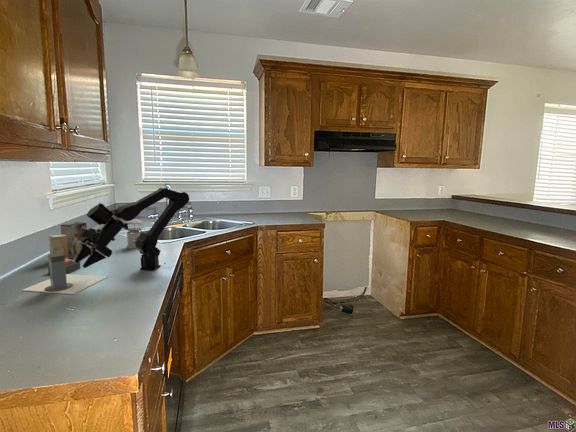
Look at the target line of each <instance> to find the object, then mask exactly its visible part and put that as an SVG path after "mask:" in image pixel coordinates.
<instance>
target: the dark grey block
mask: <svg viewBox="0 0 576 432" xmlns="http://www.w3.org/2000/svg"><path fill="white" fill-rule="evenodd" d="M47 257H48V266H49V269H50V273H49V279H50V280H51V287H52V288H53V289H54V290H56V289H61V288H65V287H67V280H66V268H65V256H64V255H63V254H62V253H59V254H53V255H50V254H48V255H47Z"/></svg>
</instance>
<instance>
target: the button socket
mask: <svg viewBox="0 0 576 432" xmlns="http://www.w3.org/2000/svg"><path fill="white" fill-rule="evenodd" d="M72 261H73V263H72V264H69V265H66V266H65V268H66V274H70V273H72V272H75V271H77V270H80V269H81V261H80V262H78V263H76V262H75V260H72ZM47 271H48V274H50V269H49V265H47Z"/></svg>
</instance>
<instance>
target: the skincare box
mask: <svg viewBox="0 0 576 432" xmlns="http://www.w3.org/2000/svg"><path fill="white" fill-rule="evenodd" d="M48 240H49V241H48V242H49V255H53V254H59V253H62V254H63V255H64V256H65V259H70V258H68V240H67V235H65V234H55V235H54V234H53V235H48Z"/></svg>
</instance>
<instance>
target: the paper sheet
mask: <svg viewBox="0 0 576 432" xmlns="http://www.w3.org/2000/svg"><path fill="white" fill-rule="evenodd" d="M106 279H108V276H101V275H100V276H99V275H89V274H88V275H86V274H85V275H84V274H72V273H71V274H70V273H68V274H66V280H67V287H65V288H61V289H56V290H54V289H53V288H52V287H51V280H50V278H49V279H46V280H43V281H41V282H39V283H35V284H33V285H31V286H28V287H26V288H24V289H22V290H21V291H22V292H33V293H35V292H36V293H46V294H47V293H48V294H49V293H50V294H62V295H75V294H77V293H79V292H81V291H83V290H85V289H88V288H89V287H92V286H93V284H94V285H96V284H98V283H99V281H100V282H102V281H103V280H106ZM101 280H102V281H101ZM97 282H98V283H97ZM95 283H96V284H95ZM91 285H92V286H91Z"/></svg>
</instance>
